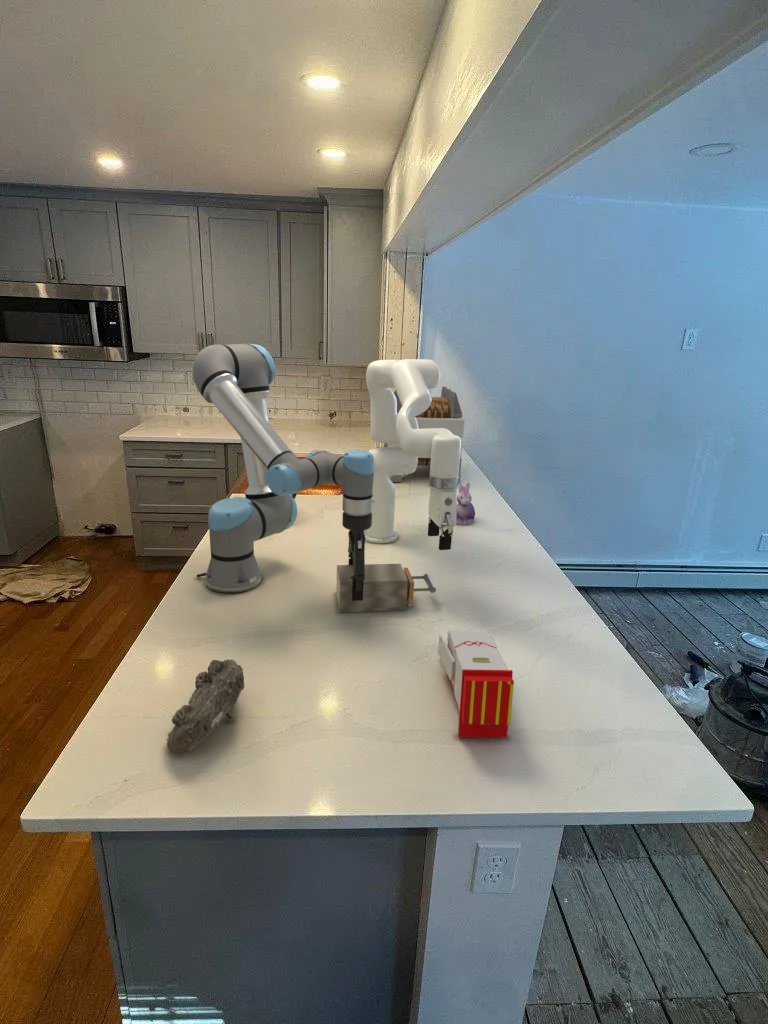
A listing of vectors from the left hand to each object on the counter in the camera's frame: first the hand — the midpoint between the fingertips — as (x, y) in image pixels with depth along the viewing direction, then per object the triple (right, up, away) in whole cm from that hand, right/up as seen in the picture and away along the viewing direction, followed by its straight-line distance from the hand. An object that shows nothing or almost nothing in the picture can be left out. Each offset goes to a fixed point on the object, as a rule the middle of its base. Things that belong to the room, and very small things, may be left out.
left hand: (355, 589), depth 151 cm
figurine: (+38, +17, +63) cm, 76 cm away
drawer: (+10, -3, +3) cm, 10 cm away
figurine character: (-29, +19, +60) cm, 69 cm away
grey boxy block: (+4, -3, +2) cm, 6 cm away
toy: (+26, -17, -33) cm, 45 cm away
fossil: (-25, -18, -43) cm, 53 cm away
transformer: (+25, +40, +124) cm, 132 cm away
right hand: (+23, +13, +2) cm, 26 cm away
